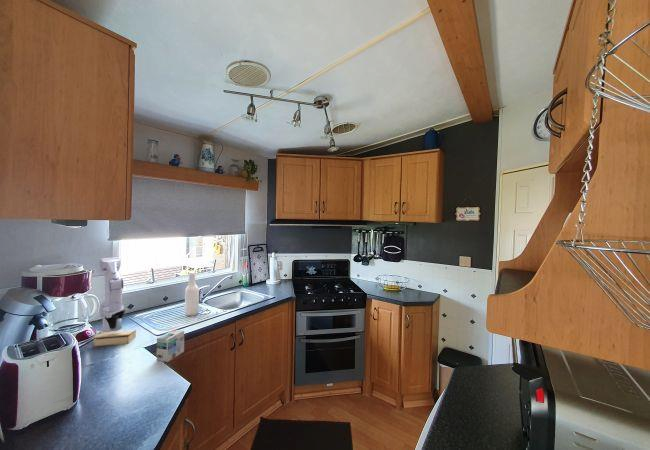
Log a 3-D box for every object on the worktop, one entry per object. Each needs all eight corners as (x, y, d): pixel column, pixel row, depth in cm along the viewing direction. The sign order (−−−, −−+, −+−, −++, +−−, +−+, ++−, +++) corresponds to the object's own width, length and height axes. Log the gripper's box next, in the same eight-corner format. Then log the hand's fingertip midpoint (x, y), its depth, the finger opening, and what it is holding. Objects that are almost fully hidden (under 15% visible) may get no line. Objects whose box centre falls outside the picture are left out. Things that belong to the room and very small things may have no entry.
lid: (102, 333, 141) (102, 332, 141) (135, 330, 144) (135, 329, 145) (93, 338, 133) (93, 337, 133) (128, 335, 137) (128, 334, 137)
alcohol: (193, 311, 187) (193, 270, 187) (201, 312, 184) (201, 271, 183) (182, 314, 179) (182, 272, 179) (190, 316, 176) (190, 274, 175)
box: (102, 339, 141) (102, 333, 141) (135, 336, 145) (135, 330, 144) (93, 346, 133) (93, 339, 133) (128, 343, 137) (128, 336, 137)
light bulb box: (167, 362, 119) (167, 339, 118) (155, 360, 120) (155, 338, 120) (184, 351, 129) (184, 330, 129) (173, 349, 130) (173, 329, 130)
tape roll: (117, 326, 142) (117, 317, 142) (124, 327, 141) (124, 318, 141) (106, 330, 137) (107, 321, 137) (113, 331, 136) (113, 322, 136)
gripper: (113, 298, 144) (113, 322, 145) (99, 306, 131) (99, 332, 131) (128, 297, 146) (128, 320, 147) (115, 305, 133) (115, 331, 133)
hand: (115, 326), depth 139 cm, fingers closed on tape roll, 5 cm apart
